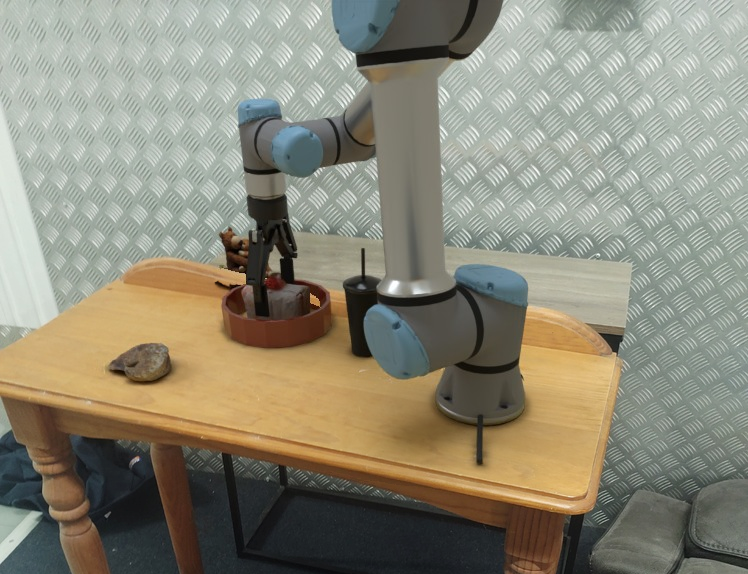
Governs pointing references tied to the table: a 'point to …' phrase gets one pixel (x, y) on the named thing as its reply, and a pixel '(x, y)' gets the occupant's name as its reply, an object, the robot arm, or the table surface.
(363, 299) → the drinking cup
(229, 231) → the bear figurine
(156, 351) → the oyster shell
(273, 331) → the reddish-brown round ring
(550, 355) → the table surface
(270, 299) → the food item
